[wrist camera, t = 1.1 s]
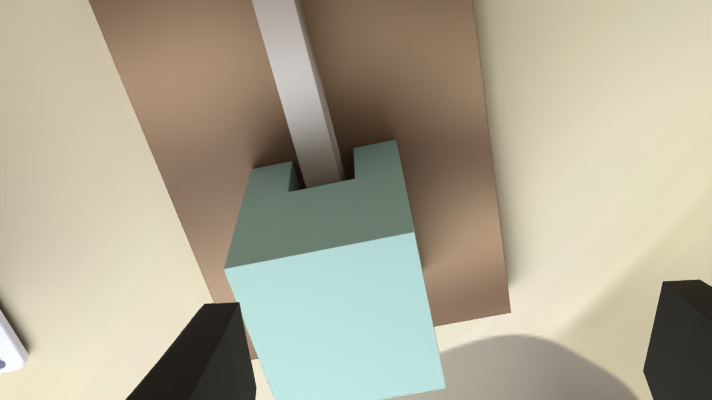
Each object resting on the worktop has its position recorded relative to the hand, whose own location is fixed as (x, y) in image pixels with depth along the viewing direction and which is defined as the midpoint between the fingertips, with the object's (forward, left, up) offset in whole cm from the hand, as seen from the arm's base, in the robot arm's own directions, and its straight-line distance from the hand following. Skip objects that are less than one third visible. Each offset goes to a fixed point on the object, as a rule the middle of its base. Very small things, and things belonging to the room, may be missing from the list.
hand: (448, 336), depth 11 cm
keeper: (-2, -3, -9) cm, 10 cm away
